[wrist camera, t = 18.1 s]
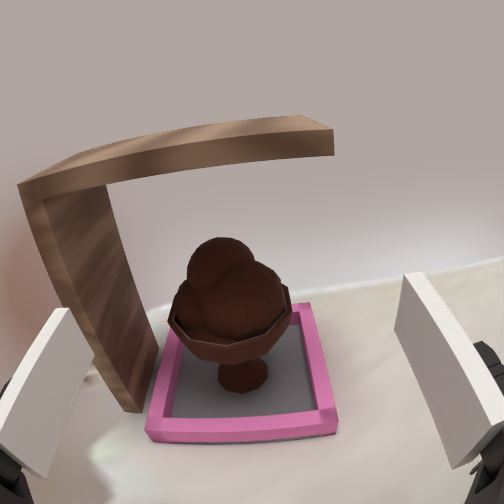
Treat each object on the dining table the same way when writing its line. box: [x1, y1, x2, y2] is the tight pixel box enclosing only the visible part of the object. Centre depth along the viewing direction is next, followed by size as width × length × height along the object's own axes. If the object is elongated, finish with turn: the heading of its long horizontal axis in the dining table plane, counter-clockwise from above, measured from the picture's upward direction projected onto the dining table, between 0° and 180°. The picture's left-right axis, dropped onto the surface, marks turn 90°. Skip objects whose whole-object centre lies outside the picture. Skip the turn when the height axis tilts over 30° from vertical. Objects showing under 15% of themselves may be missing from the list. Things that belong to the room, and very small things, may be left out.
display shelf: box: [17, 115, 334, 413], centre depth 27 cm, size 20×11×24 cm, turn 91°
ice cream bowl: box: [167, 237, 293, 394], centre depth 28 cm, size 11×11×15 cm
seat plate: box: [144, 302, 338, 444], centre depth 32 cm, size 17×17×2 cm
